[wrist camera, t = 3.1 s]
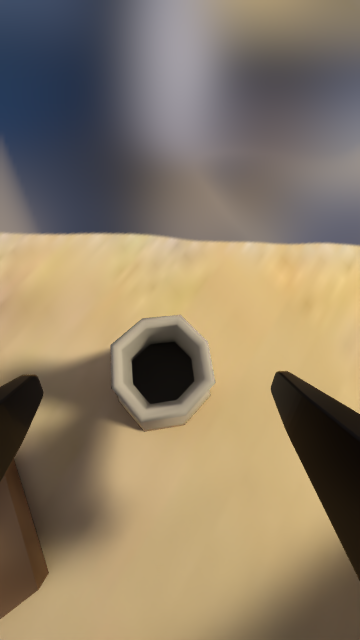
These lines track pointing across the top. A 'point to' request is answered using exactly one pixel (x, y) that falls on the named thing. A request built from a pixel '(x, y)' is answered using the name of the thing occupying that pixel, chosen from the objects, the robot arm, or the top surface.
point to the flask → (161, 371)
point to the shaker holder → (17, 545)
